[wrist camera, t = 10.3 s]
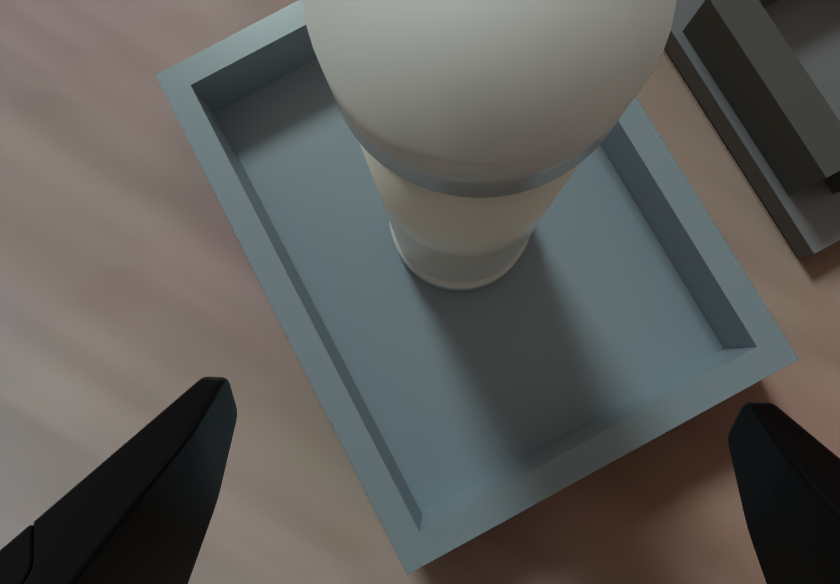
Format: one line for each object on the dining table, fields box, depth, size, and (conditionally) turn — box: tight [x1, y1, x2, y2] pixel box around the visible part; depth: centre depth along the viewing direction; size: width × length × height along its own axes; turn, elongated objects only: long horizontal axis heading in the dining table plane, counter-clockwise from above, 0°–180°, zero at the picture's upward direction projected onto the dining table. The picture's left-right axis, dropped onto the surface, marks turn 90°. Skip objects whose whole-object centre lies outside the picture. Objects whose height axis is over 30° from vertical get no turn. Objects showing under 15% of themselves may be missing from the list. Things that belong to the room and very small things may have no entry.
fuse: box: [303, 0, 676, 292], centre depth 13 cm, size 4×4×12 cm
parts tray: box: [155, 0, 799, 575], centre depth 18 cm, size 16×12×2 cm
